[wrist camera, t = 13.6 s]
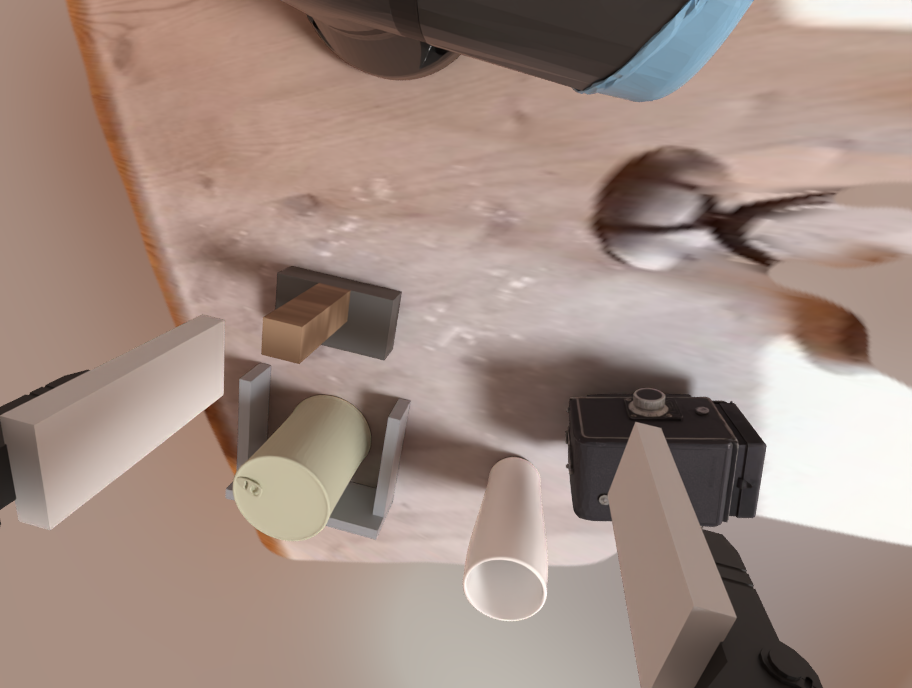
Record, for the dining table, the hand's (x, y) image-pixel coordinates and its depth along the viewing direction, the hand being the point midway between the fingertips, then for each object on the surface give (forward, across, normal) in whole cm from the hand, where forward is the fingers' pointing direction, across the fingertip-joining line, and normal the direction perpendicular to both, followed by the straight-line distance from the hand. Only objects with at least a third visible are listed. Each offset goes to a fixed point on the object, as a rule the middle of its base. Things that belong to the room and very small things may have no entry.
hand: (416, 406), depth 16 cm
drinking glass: (+32, +7, -24) cm, 41 cm away
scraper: (+32, -13, -10) cm, 36 cm away
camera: (+32, +17, -14) cm, 39 cm away
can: (+32, -13, -25) cm, 42 cm away
